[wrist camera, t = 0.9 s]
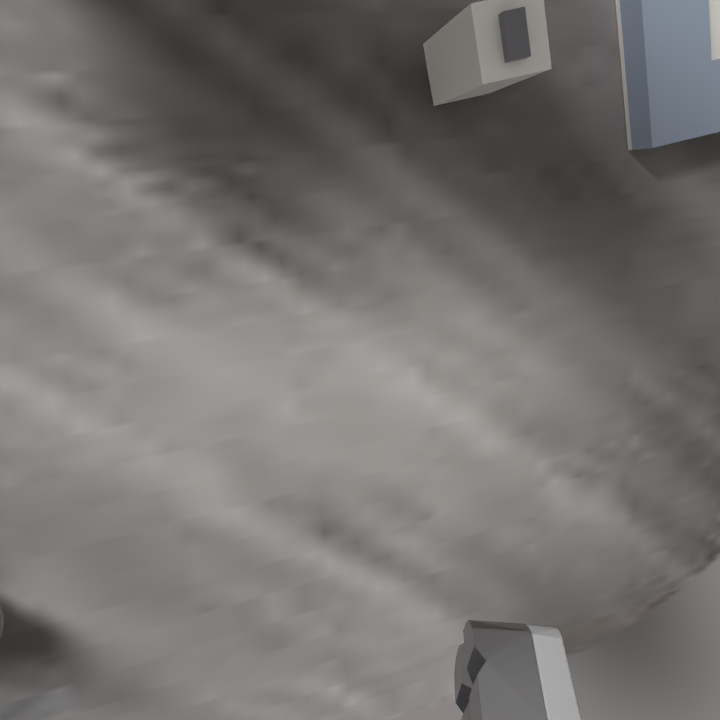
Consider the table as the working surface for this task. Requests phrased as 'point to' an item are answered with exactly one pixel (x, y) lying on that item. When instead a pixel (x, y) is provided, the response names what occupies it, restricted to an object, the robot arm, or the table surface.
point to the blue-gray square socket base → (669, 69)
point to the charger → (487, 49)
